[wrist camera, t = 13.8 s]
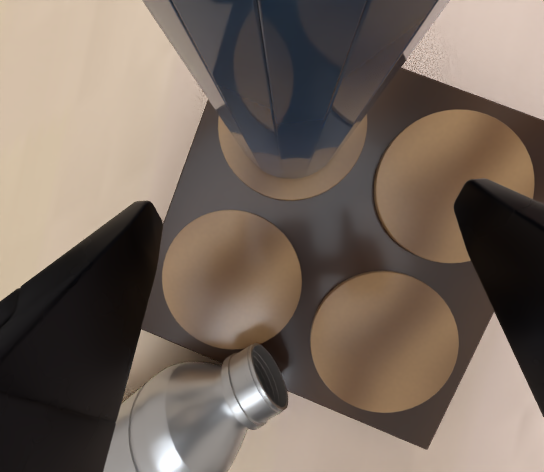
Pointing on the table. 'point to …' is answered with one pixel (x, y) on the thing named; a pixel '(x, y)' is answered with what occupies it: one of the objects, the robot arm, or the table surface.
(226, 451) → the silver metal bottle
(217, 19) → the tumbler
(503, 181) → the coaster board
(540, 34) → the table surface
